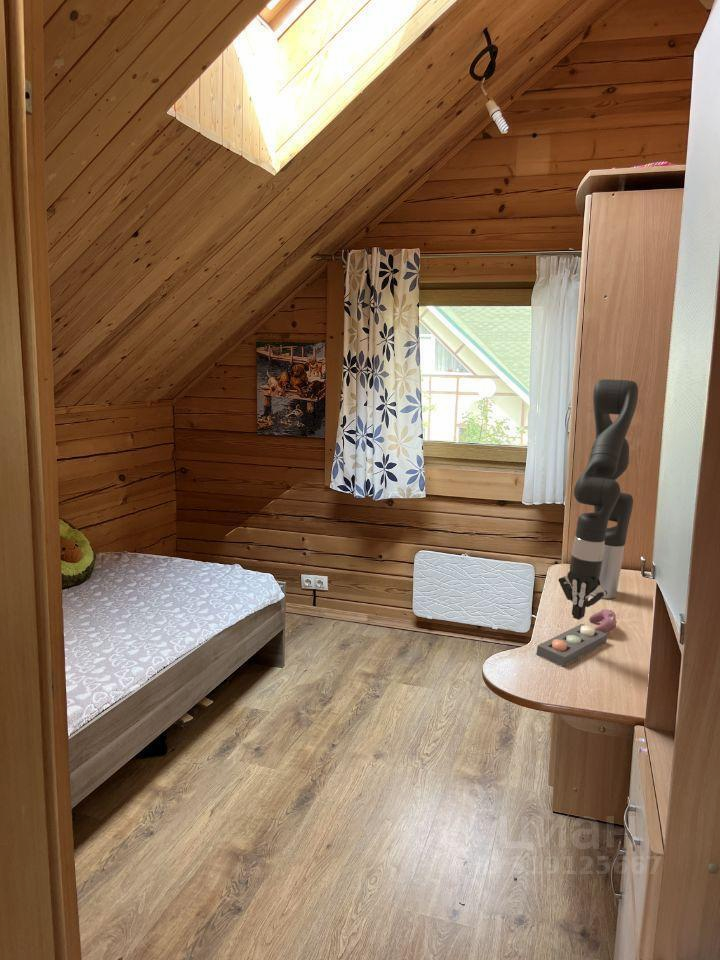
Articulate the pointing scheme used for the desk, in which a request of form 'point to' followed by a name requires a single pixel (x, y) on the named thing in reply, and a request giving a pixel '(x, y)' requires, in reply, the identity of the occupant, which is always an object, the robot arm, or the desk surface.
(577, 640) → the sage button
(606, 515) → the robot arm
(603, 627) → the video game controller
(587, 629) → the cream button
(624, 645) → the desk surface
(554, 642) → the terracotta button
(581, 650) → the button panel
